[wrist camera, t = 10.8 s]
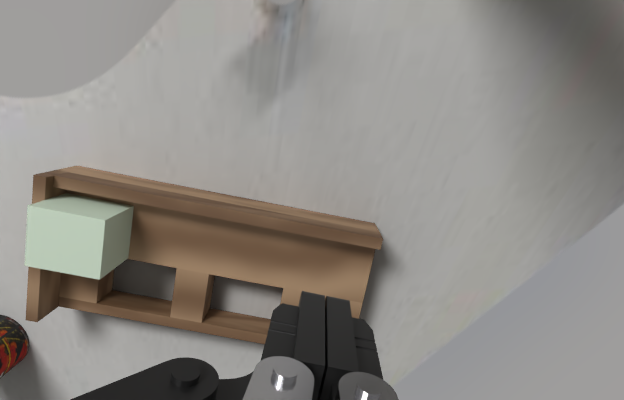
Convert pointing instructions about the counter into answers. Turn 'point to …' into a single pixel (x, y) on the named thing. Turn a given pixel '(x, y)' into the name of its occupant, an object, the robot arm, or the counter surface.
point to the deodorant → (11, 344)
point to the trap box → (207, 253)
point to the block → (78, 235)
